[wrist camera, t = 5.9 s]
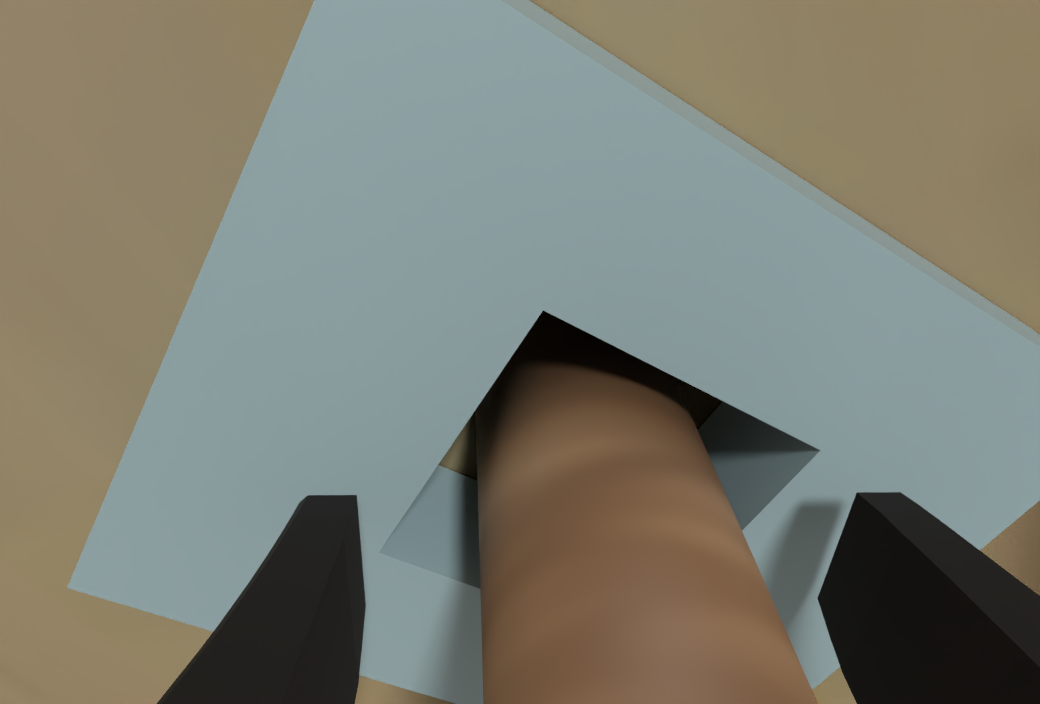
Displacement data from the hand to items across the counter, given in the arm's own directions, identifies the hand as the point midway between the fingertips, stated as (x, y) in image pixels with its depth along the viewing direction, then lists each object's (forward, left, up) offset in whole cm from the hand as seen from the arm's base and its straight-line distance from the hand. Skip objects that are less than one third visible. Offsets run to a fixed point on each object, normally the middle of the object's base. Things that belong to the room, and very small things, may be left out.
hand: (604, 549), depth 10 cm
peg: (0, 0, -3) cm, 3 cm away
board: (0, 0, -3) cm, 3 cm away
